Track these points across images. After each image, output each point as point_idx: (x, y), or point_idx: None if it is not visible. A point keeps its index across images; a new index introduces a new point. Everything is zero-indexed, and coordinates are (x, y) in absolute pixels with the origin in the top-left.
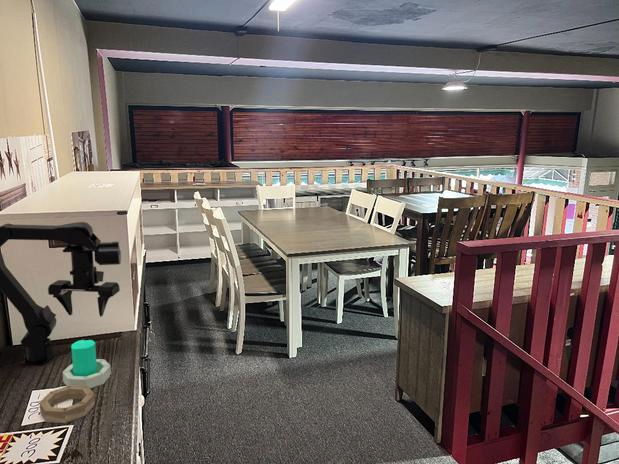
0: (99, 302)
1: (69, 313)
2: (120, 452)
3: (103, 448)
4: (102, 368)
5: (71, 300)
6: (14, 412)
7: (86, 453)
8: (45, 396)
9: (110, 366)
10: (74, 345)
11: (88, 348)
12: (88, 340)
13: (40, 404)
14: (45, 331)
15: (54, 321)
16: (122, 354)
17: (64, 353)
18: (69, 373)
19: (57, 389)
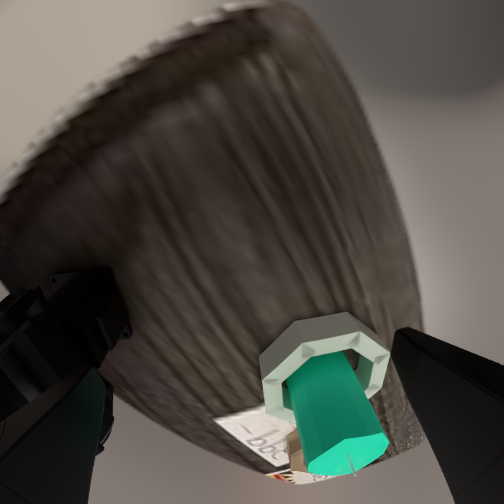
0: (468, 498)
1: (100, 409)
2: (419, 442)
3: (402, 447)
4: (372, 372)
5: (11, 448)
6: (239, 457)
7: (385, 457)
8: (291, 462)
9: (388, 350)
10: (314, 463)
11: (372, 457)
12: (356, 439)
13: (295, 469)
14: (109, 432)
15: (48, 367)
16: (365, 202)
17: (130, 244)
18: (290, 412)
19: (301, 449)
